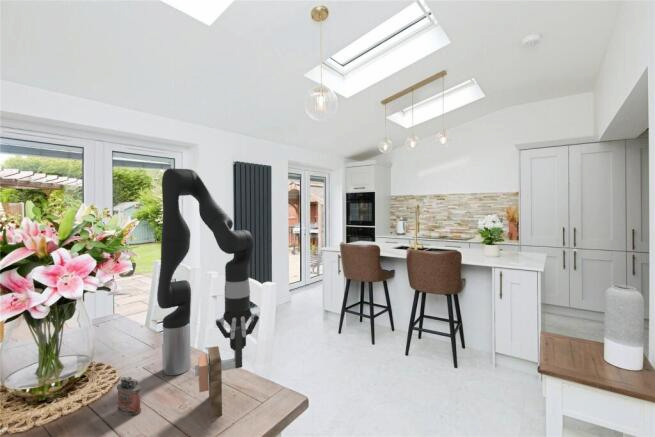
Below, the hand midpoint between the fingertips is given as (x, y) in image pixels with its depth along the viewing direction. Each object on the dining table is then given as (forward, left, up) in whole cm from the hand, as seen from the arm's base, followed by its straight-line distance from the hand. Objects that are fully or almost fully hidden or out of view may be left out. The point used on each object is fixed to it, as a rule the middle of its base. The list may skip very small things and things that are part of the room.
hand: (238, 348), depth 98 cm
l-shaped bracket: (-3, -5, -6) cm, 8 cm away
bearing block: (-4, -6, -17) cm, 18 cm away
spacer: (-6, -8, -9) cm, 14 cm away
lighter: (-24, -21, -17) cm, 36 cm away
